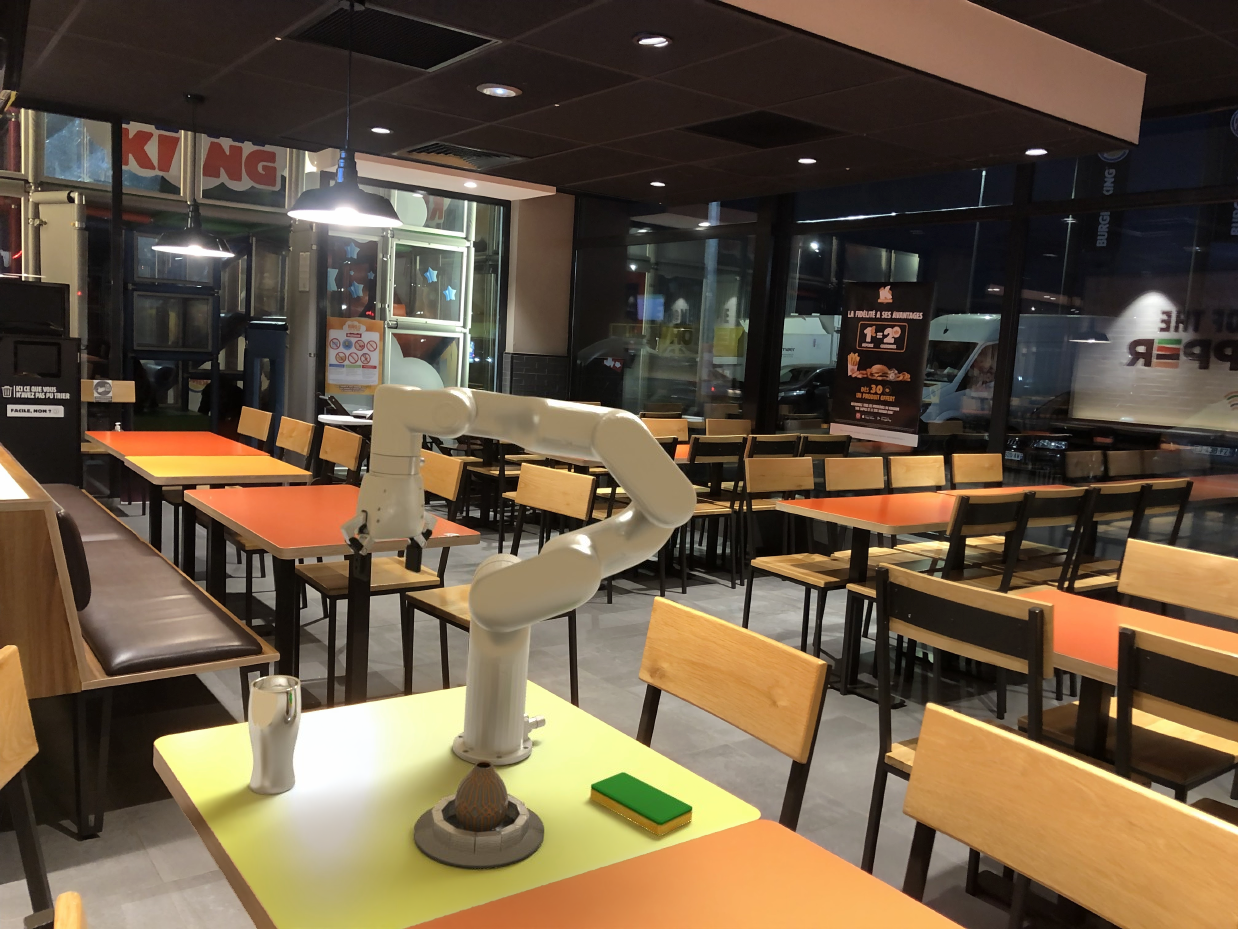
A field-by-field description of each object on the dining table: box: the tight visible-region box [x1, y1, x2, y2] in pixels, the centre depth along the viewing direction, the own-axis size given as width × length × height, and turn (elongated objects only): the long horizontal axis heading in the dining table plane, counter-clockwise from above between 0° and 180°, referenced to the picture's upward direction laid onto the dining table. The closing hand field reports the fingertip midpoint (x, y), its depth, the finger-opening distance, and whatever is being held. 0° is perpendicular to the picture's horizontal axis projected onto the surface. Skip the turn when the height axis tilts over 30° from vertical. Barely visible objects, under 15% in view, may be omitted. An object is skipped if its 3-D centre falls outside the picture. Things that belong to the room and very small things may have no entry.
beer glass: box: [247, 674, 302, 796], centre depth 130 cm, size 7×7×15 cm
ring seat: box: [413, 792, 545, 870], centre depth 122 cm, size 17×17×3 cm
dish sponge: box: [590, 771, 693, 836], centre depth 132 cm, size 7×14×2 cm, turn 46°
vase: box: [455, 761, 508, 832], centre depth 122 cm, size 7×7×9 cm
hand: (387, 574), depth 143 cm, fingers open, 9 cm apart
